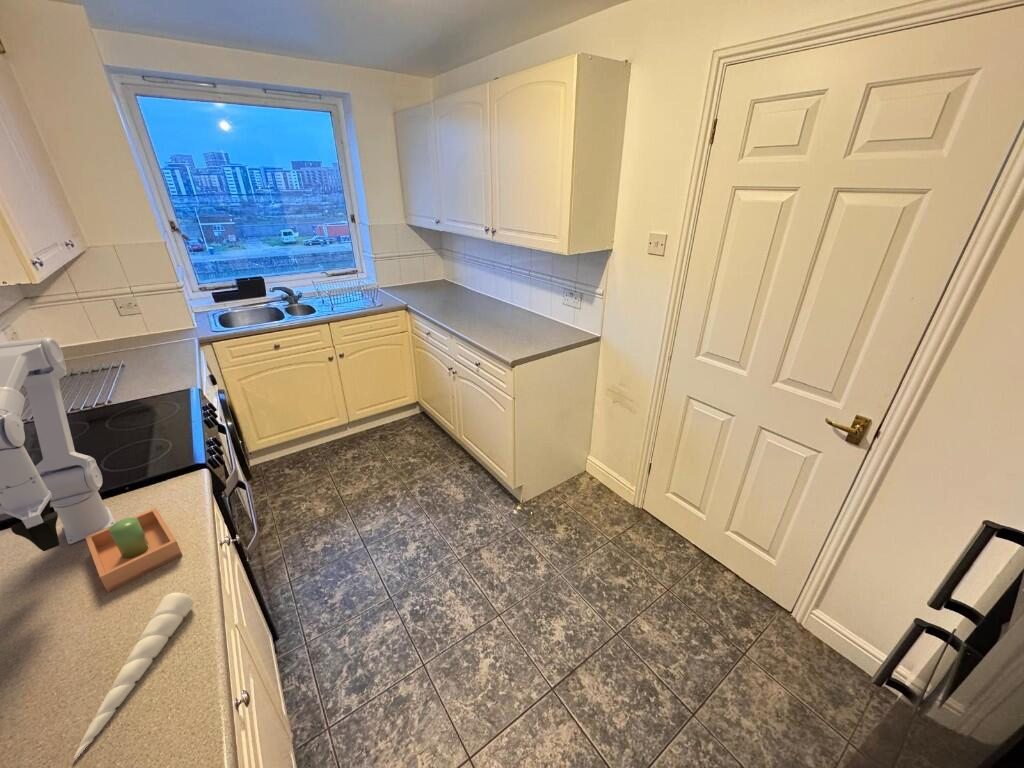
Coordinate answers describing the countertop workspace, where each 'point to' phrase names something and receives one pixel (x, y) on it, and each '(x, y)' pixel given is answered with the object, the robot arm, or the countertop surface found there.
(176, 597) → the unicorn horn
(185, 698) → the countertop surface
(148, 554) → the terracotta bin
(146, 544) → the cucumber piece
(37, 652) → the countertop surface
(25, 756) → the countertop surface
